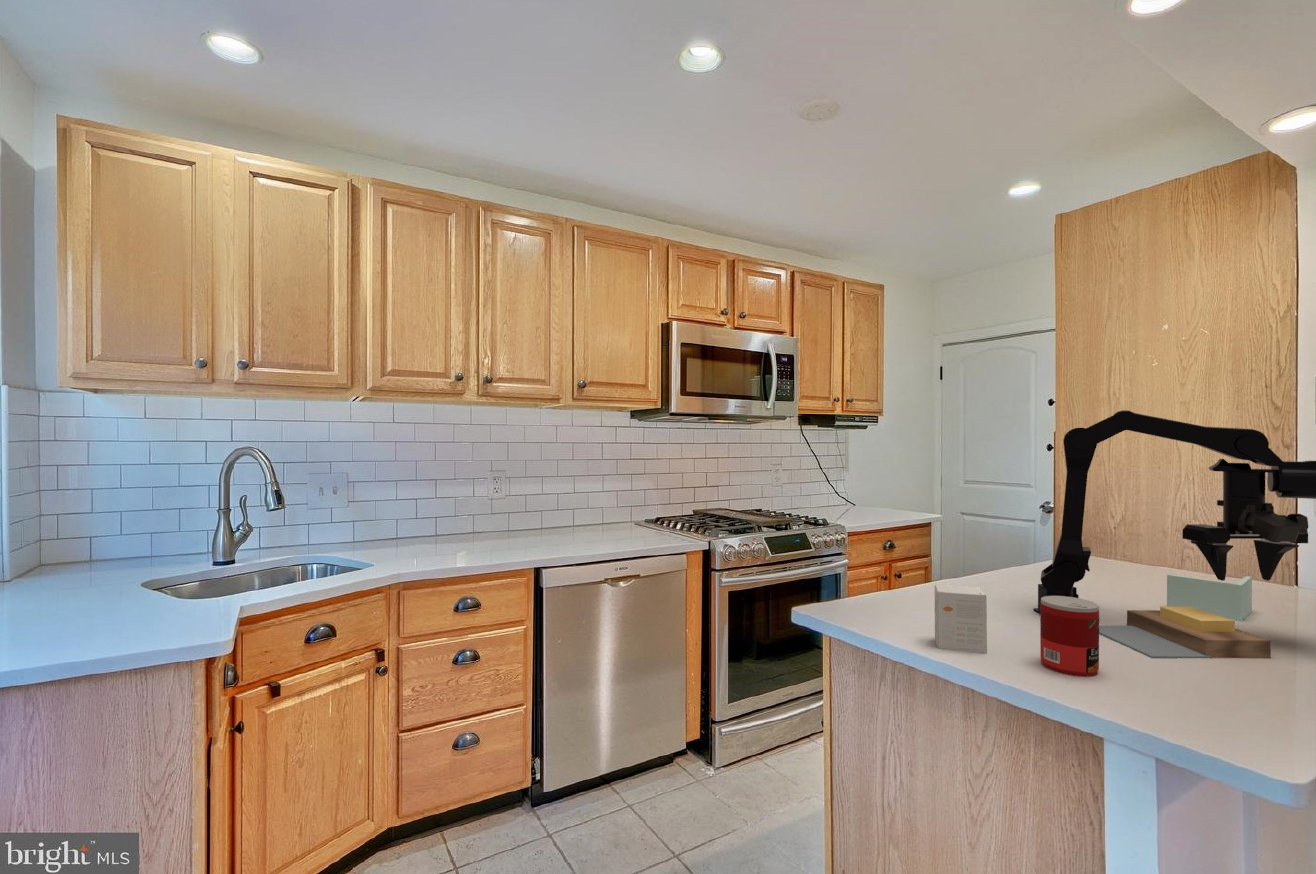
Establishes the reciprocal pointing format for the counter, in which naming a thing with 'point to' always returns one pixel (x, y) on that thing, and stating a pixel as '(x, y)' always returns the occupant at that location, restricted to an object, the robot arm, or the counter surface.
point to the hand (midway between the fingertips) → (1243, 580)
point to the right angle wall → (1211, 596)
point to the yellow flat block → (1197, 619)
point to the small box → (961, 618)
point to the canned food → (1069, 635)
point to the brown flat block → (1201, 637)
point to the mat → (1147, 642)
